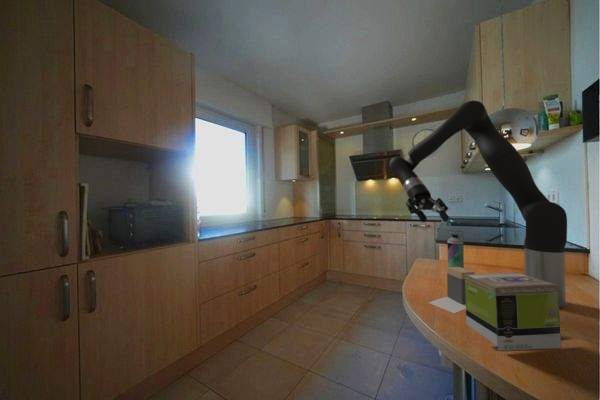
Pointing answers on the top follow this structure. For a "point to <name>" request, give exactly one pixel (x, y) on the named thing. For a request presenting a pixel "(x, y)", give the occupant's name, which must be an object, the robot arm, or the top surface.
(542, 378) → the top surface
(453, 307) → the board
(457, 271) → the block
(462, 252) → the spray can
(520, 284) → the tea box
